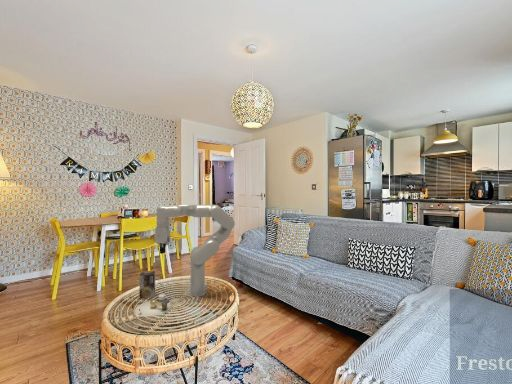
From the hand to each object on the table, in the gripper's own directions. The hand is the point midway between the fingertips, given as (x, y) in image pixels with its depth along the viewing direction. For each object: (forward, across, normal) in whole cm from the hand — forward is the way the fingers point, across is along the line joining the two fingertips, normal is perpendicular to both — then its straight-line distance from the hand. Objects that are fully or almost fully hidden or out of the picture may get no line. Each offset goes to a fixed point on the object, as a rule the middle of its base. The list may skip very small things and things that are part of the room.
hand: (162, 253), depth 161 cm
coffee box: (+29, -7, -6) cm, 31 cm away
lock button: (+27, +8, -7) cm, 29 cm away
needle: (+27, +13, -13) cm, 33 cm away
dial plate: (+29, +9, -14) cm, 34 cm away
